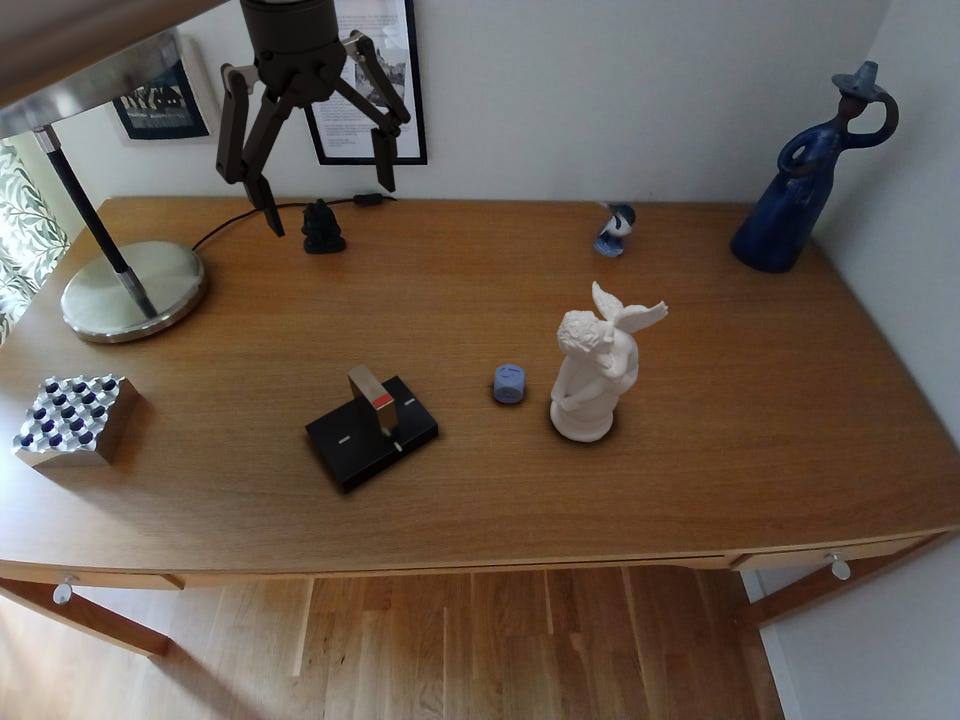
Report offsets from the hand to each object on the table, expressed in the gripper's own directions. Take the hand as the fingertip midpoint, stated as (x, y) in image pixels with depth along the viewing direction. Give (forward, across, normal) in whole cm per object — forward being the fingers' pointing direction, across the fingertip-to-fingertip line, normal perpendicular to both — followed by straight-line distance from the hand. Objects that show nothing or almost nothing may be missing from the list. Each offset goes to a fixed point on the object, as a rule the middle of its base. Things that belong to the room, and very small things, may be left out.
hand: (334, 207), depth 62 cm
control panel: (+27, -6, -12) cm, 30 cm away
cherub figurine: (+27, +20, -25) cm, 42 cm away
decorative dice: (+27, +13, -17) cm, 34 cm away
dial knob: (+24, -5, -12) cm, 27 cm away
